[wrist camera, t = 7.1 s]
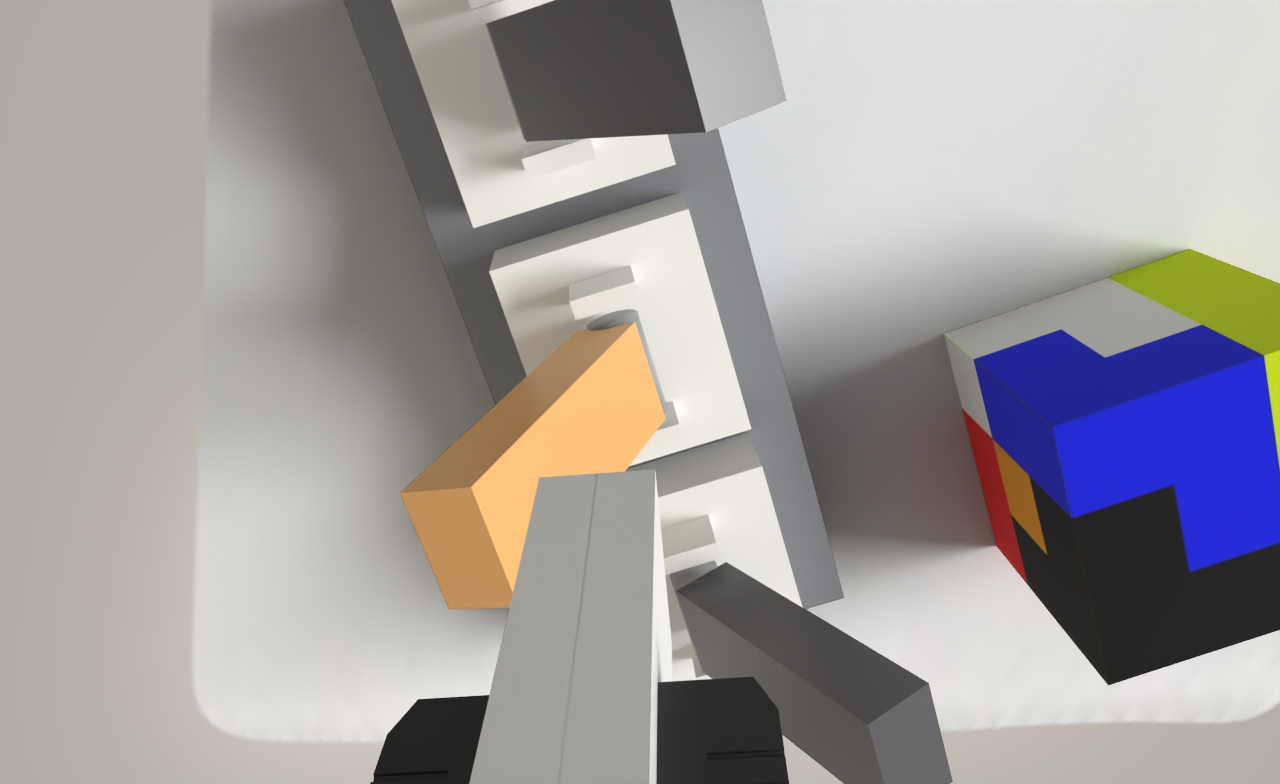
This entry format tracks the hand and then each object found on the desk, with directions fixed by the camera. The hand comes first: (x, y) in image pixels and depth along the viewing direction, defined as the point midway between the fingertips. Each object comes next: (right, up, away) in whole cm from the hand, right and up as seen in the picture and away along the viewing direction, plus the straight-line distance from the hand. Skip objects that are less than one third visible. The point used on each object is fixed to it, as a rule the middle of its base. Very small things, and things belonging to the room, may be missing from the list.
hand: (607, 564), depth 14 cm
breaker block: (-1, +6, +26) cm, 27 cm away
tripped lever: (0, +3, +18) cm, 19 cm away
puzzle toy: (+19, +2, +30) cm, 35 cm away
